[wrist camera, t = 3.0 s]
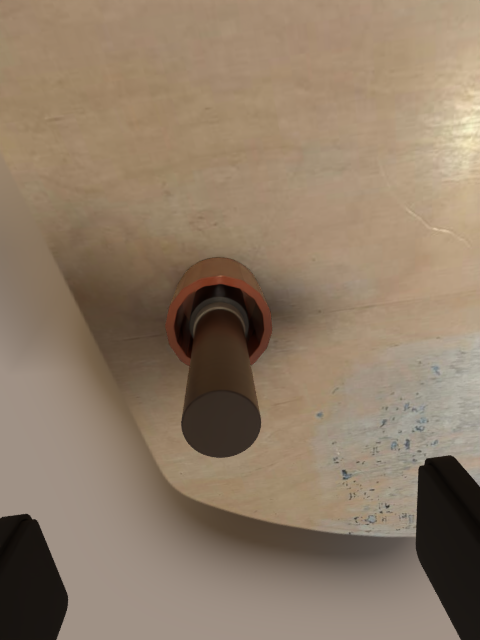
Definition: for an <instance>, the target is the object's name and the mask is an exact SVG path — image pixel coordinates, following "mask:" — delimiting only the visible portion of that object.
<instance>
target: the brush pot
mask: <svg viewBox="0 0 480 640" xmlns="http://www.w3.org/2000/svg"><path fill="white" fill-rule="evenodd" d="M219 284H224V285H228V286H232V287H236V288H240V289H241V291H242V294H243V297H244V301H245V306H246V310H247V314H248V318H249V331H248V334H247V336H246V343H247V348H248V354H249V359H250V364H251V365H252V364H254V363H255V362H256V361H257V359H258V358H259V357H260V356H261V355H262V353H263V352H264V351H265V350H266V348H267V346H268V343H269V340H270V337H271V333H272V321H271V312H270V309H269V306H268V304H267V302H266V299H265V297H264V295H263V292H262V290H261V288H260V286H259V284H258V282H257V280H256V278H255V277H254V275H253V274H252V273H251V272H250V270H249V269H247V268H246V267H245V266H244V265H242V264H241V263H239V262H237V261H235V260H232V259H228V258H220V257H217V258H209V259H205V260H202V261H200V262H198V263H196V264H195V265H193V266H192V267H191V268H190V269H188V270H187V272H186V273H185V274H184V275H183V277H182V278H181V280H180V282H179V283H178V286H177V288H176V291H175V293H174V296H173V298H172V301H171V304H170V306H169V310H168V315H167V319H166V324H165V325H166V326H165V327H166V332H167V337H168V341H169V345H170V346H171V348H172V349H173V351H174V352H175V354H176V355H177V356H178V358H179V359H180V360H181V361H182V362H183V363H185V364H186V365H188V366H190V360H191V353H192V347H193V340H194V339H193V337H192V335H191V333H190V329H189V321H190V315H191V310H192V305H193V300H194V296H195V293H196V291H197V290H199V289H200V288H202V287H204V286H211V285H219Z"/></svg>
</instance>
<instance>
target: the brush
mask: <svg viewBox="0 0 480 640" xmlns="http://www.w3.org/2000/svg"><path fill="white" fill-rule="evenodd" d="M189 329H190V333H191V335H192V337H193V339H194V340H193V347H192V353H191V360H190V367H189V374H188V380H187V387H186V394H185V401H184V407H183V414H182V421H181V427H182V432H183V435H184V437H185V439H186V441H187V442H188V444H189V445H190V446H191V447H192V448H193V449H195V450H196V451H198V452H199V453H201V454H204V455H206V456H210V457H217V458H223V457H230V456H234V455H237V454H239V453H241V452H243V451H245V450H246V449H248V448H249V447H250V446H251V445H252V444H253V443H254V441H255V440H256V438H257V437H258V434H259V432H260V428H261V417H260V412H259V406H258V401H257V396H256V391H255V385H254V380H253V375H252V369H251V364H250V359H249V354H248V348H247V343H246V336H247V334H248V331H249V318H248V314H247V310H246V306H245V301H244V297H243V294H242V291H241V289H240V288H236V287H232V286H228V285H224V284H219V285H211V286H204V287H202V288H200V289H199V290H197V291H196V293H195V296H194V300H193V305H192V310H191V315H190V321H189Z"/></svg>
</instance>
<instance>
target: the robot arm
mask: <svg viewBox="0 0 480 640" xmlns="http://www.w3.org/2000/svg"><path fill="white" fill-rule="evenodd" d="M416 551H417V555H418V558H419V561H420V563H421V565H422V567H423V569H424V571H425V572H426V574H427V576H428V578H429V580H430V582H431V584H432V586H433V588H434V590H435V592H436V593H437V595H438V597H439V599H440V601H441V603H442V605H443V607H444V608H445V610H446V612H447V614H448V616H449V618H450V620H451V622H452V624H453V626H454V628H455V629H456V631H457V633H458V635H459V637H460V639H461V640H480V486H479V485H478V484H477V483H476V482H475V481H474V479H473V478H472V477H471V476H470V475H469V474H468V472H467V471H466V470H465V469H464V468H463V467H462V465H461V464H460V463H459V462H458V461H457V460H456V459H455V458H454V457H453V456H451V455H449V456H442V457H434V458H428V459H426V460H425V464H424V466H420V467H419V471H418V498H417V525H416ZM67 606H68V595H67V592H66V590H65V587H64V585H63V582H62V580H61V577H60V575H59V572H58V570H57V568H56V565H55V563H54V560H53V558H52V555H51V553H50V550H49V548H48V546H47V543H46V541H45V538H44V536H43V533H42V531H41V528H40V526H39V524H38V522H37V520H35V519H33V520H32V518H31V517H30V515H28V514H21V515H14V516H7V517H2V518H0V640H56V639H57V636H58V634H59V631H60V628H61V625H62V623H63V620H64V617H65V614H66V611H67Z"/></svg>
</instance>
